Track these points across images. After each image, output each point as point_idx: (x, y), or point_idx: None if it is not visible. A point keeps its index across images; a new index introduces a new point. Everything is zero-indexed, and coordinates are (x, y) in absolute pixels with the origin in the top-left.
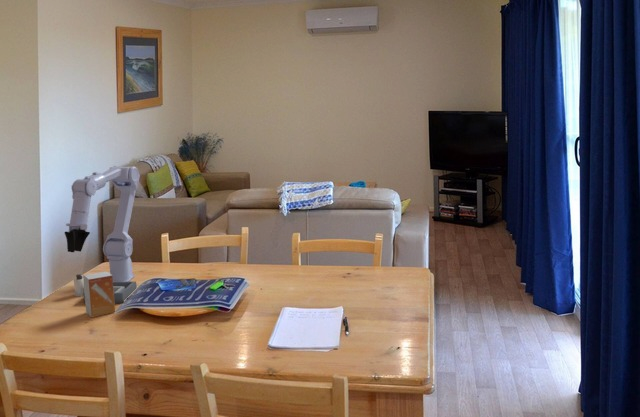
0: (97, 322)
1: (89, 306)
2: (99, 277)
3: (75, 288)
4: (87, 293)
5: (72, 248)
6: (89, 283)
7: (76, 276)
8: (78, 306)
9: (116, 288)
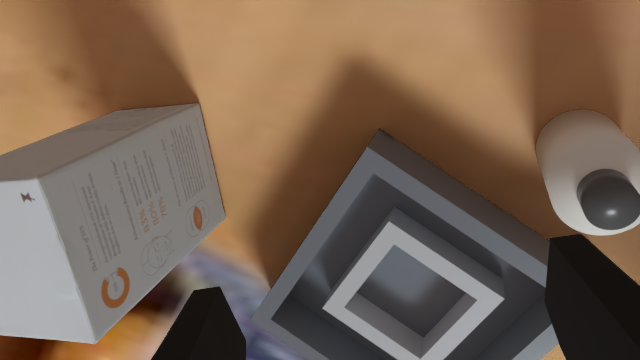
0: (50, 119)
1: (96, 121)
2: None
3: (573, 128)
4: (58, 141)
5: (573, 328)
6: None
7: (609, 178)
8: (328, 85)
9: (436, 337)
